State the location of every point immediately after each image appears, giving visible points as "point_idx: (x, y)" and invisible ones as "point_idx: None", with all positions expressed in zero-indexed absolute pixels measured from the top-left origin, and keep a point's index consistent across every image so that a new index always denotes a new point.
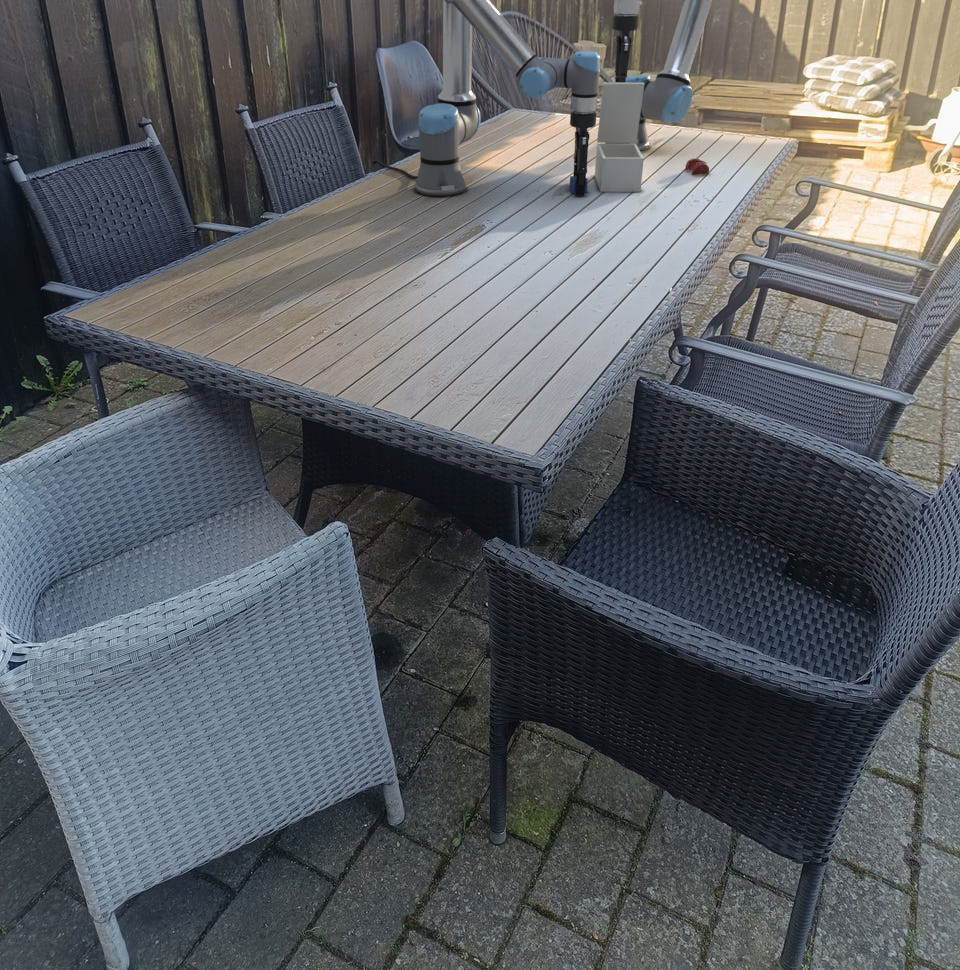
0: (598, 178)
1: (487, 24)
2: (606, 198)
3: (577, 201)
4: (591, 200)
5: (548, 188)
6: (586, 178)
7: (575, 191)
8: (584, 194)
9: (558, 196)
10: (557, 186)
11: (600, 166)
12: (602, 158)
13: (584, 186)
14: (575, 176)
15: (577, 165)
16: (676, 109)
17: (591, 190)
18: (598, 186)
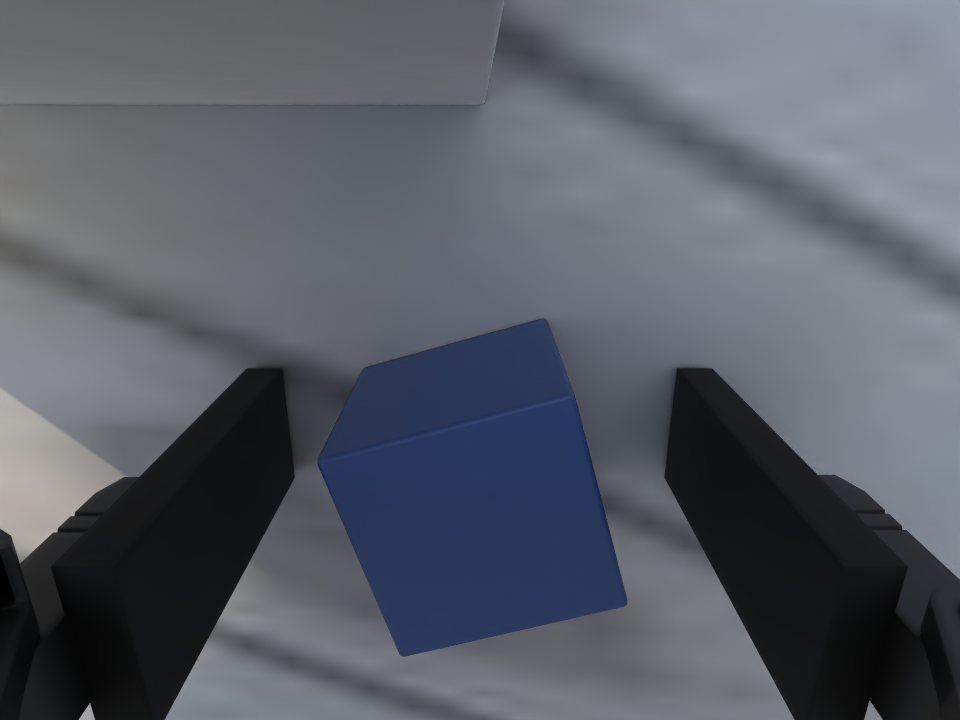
0: (66, 98)
1: None
2: (839, 36)
3: (890, 462)
4: (889, 284)
5: (361, 711)
6: (542, 416)
7: (679, 502)
8: (716, 375)
9: (662, 639)
10: (273, 628)
11: (42, 72)
12: (270, 3)
13: (765, 433)
14: (414, 585)
15: (146, 666)
16: None
17: (415, 237)
18: (214, 104)
